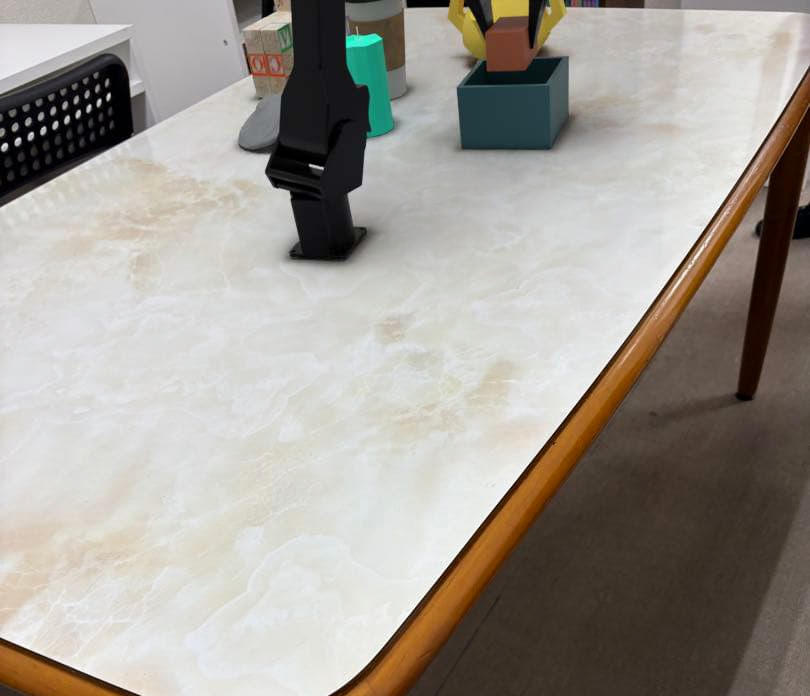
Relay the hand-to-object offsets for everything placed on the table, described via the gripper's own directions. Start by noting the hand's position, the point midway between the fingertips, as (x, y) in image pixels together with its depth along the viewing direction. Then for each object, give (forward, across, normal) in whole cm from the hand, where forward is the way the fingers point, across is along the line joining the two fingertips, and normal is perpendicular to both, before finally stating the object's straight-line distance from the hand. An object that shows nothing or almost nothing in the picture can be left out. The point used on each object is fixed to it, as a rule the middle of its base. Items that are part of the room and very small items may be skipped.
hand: (512, 48), depth 99 cm
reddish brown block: (+2, 0, 0) cm, 2 cm away
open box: (+6, 0, +5) cm, 8 cm away
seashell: (+10, +33, +1) cm, 34 cm away
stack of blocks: (+10, +39, -23) cm, 47 cm away
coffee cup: (+10, +23, -15) cm, 29 cm away
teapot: (+10, +9, -29) cm, 31 cm away
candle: (+10, +20, -2) cm, 22 cm away
